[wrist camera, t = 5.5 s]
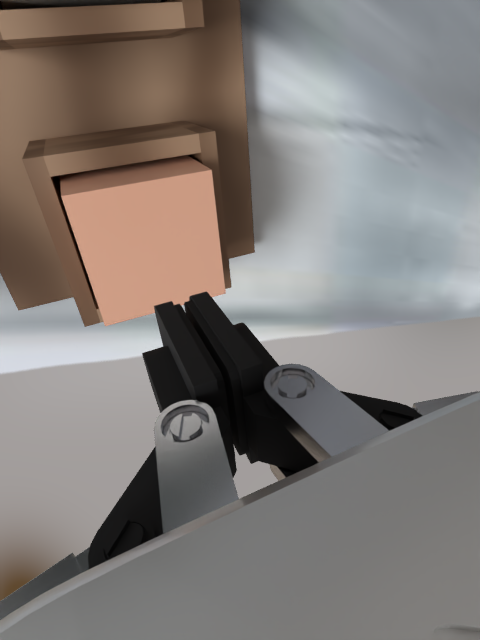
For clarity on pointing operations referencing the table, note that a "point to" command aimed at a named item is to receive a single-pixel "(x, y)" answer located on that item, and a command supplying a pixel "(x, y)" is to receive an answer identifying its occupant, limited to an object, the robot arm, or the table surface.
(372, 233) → the table surface
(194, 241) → the terracotta key
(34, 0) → the white square block
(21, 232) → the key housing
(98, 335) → the table surface
